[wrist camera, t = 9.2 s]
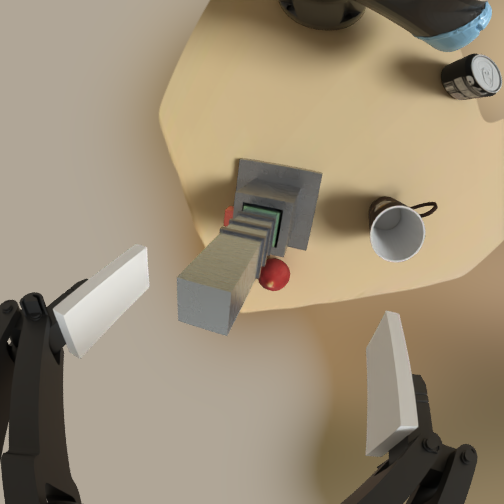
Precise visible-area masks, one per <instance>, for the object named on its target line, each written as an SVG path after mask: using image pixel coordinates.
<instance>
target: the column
mask: <svg viewBox="0 0 504 504" xmlns="http://www.w3.org/2000/svg"><path fill="white" fill-rule="evenodd" d="M280 213H281V210H280V209H276V208H271V207H266V206H261V205H256V204H251V203H250V204H249V205H244V210H243V211H242V212H241V211H238V212H237V217H236V218H235V219H232V218H231V219H230V220H229V225H228V226H227V227H226V228H225V227H221V228H220V234H219V235H218V236H217V237H216V238H215V239H214V240H213V241H212V242H211V243H210V244H209V245H208V246H207V247H206V248H205V249H204V250H203V251H202V252H201V253H200V254H199V255H198V256H197V257H196V258H195V259H194V260H193V261H192V262H191V263H190V264H189V265H188V266H187V267H186V269H185V270H183V272H182V273H181V274H180V275H179V276H178V277H177V300H178V320H179V321H181V322H184V323H187V324H190V325H193V326H196V327H200V328H203V329H206V330H209V331H212V332H216V333H219V334H222V335H226V336H227V335H228V333H229V331H230V329H231V327H232V325H233V323H234V321H235V319H236V317H237V315H238V313H239V311H240V309H241V307H242V305H243V303H244V301H245V299H246V297H247V295H248V293H249V291H250V289H251V287H252V285H253V283H254V281H255V279H259V277H260V273H261V267H262V266H264V267H265V265H266V259H267V255H268V256H270V254H271V249H272V246H273V247H274V246H275V241H276V236H277V230H278V224H279V219H280Z"/></svg>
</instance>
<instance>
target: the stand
mask: <svg viewBox="0 0 504 504" xmlns="http://www.w3.org/2000/svg"><path fill="white" fill-rule="evenodd" d="M321 178H322V173H321V172H316V171H312V170H307V169H302V168H297V167H292V166H286V165H281V164H275V163H270V162H264V161H258V160H251V159H245V158H241V159H240V161H239V170H238V179H237V187H236V192H235V201H234V207H233V206H229V207H228V208H227V209H226V210H225V218H224V226H228V225H229V220H230V219H231V218H232V219H235V218H236V217H237V212H238V211H241V212H242V211H243V210H244V205H249V204H250V203H251V204H256V205H261V206H266V207H271V208H276V209H280V210H281V213H280V219H279V224H278V230H277V236H276V241H275V246H274V247H273V246H272V249H271V255H276V256H280V257H284V255H285V252H286V249H287V247H292V248H297V249H301V250H305V251H306V249H307V245H308V240H309V236H310V231H311V227H312V222H313V217H314V213H315V208H316V203H317V198H318V193H319V188H320V183H321Z"/></svg>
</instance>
